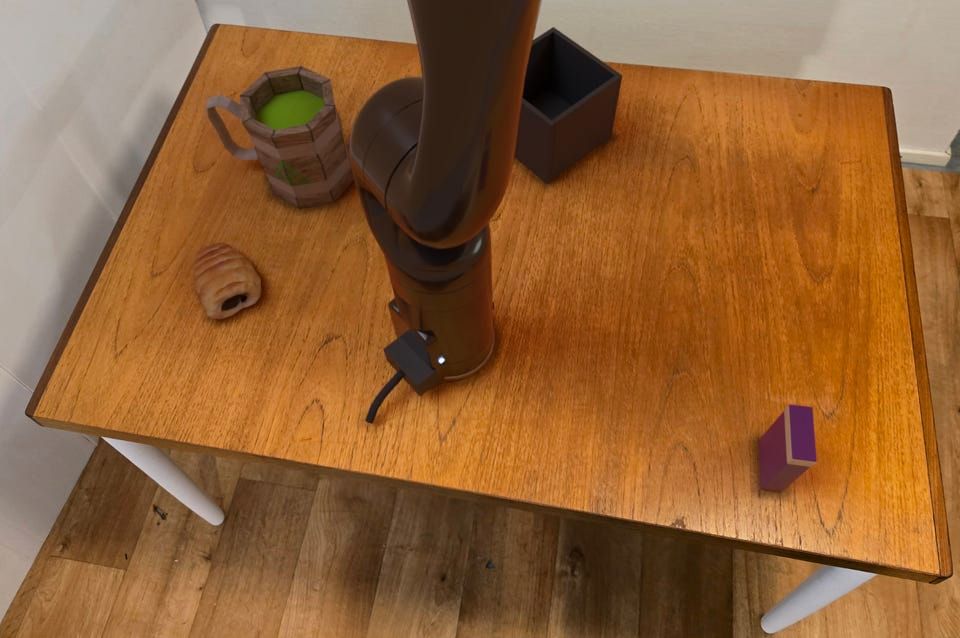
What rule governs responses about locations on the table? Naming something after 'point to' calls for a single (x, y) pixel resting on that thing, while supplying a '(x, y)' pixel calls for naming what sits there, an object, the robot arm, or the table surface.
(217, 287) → the pastry
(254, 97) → the mug
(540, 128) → the waste bin
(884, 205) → the table surface
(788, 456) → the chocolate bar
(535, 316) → the table surface
